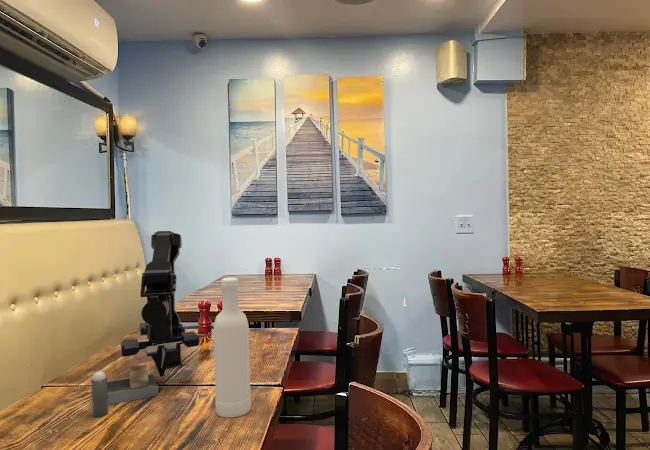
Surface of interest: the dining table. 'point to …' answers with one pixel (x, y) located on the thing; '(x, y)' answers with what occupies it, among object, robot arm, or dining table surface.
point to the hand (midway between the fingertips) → (161, 376)
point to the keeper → (138, 376)
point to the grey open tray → (129, 390)
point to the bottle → (231, 355)
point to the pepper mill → (99, 394)
